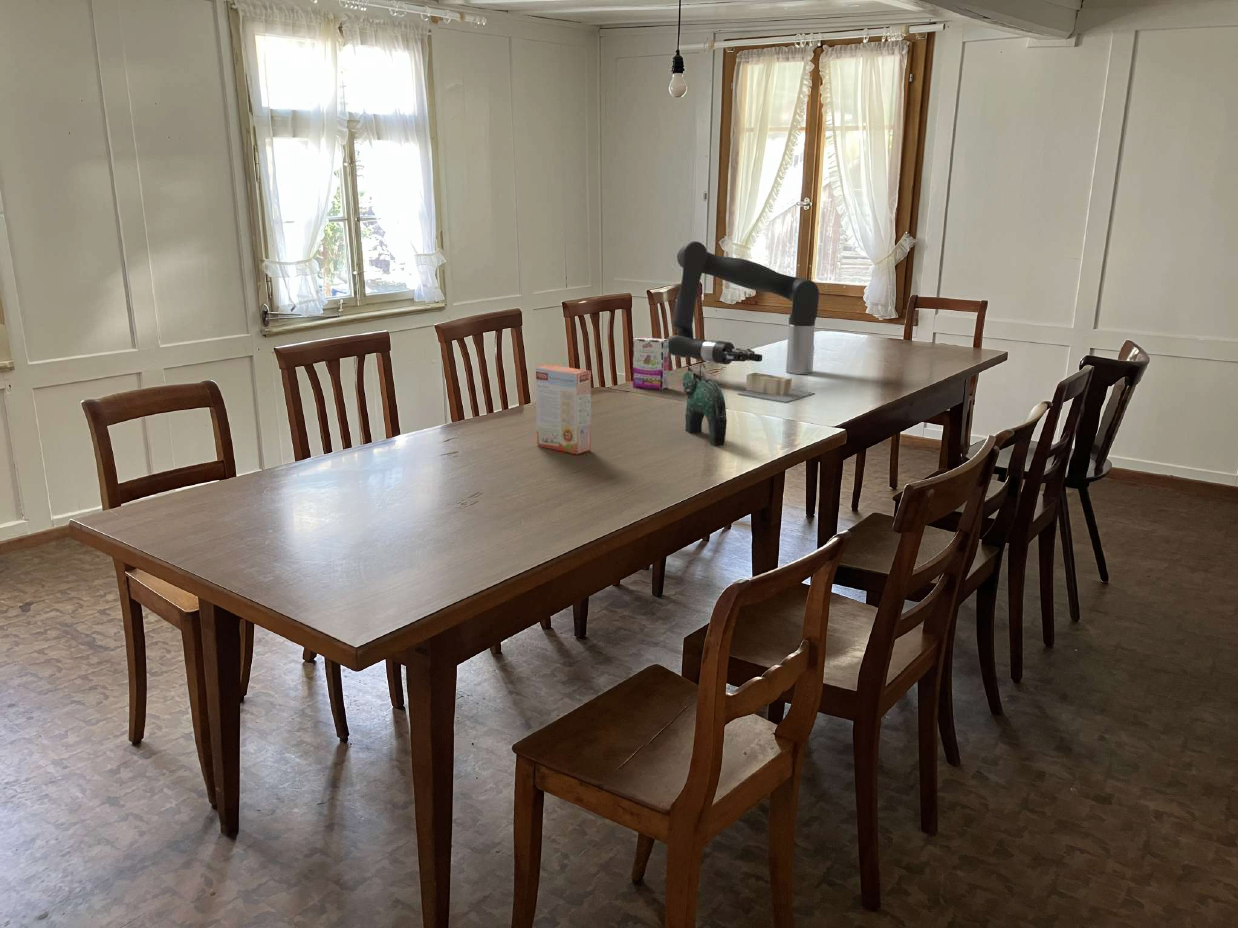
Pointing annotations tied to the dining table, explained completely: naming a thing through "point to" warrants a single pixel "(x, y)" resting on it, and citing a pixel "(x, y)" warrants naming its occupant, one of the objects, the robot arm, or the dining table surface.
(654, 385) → the candy bar box
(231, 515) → the dining table surface
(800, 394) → the slate rubber mat
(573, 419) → the cracker box
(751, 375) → the birch block
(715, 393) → the green animal figurine
